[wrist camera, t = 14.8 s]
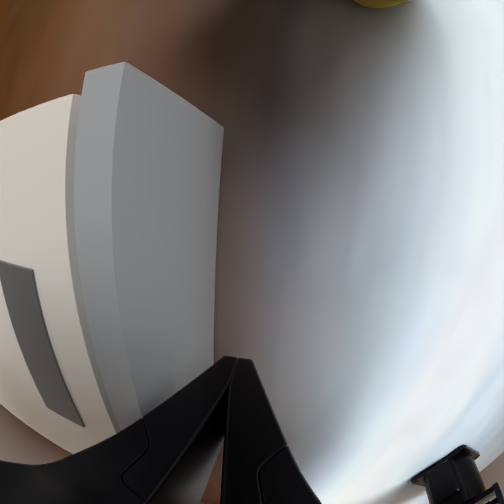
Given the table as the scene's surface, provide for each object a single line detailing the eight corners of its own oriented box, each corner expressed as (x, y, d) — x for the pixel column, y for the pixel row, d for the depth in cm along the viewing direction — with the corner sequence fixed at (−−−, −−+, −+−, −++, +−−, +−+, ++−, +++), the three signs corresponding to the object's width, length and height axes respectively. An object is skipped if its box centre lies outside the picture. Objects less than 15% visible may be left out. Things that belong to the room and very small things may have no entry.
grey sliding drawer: (53, 357, 15) (-6, 413, 8) (24, 147, 11) (-72, 156, 4) (213, 409, 14) (179, 513, 7) (224, 127, 10) (124, 61, 3)
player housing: (42, 342, 16) (-16, 391, 9) (18, 151, 12) (-69, 161, 5) (186, 391, 15) (142, 487, 8) (185, 131, 11) (70, 92, 4)
